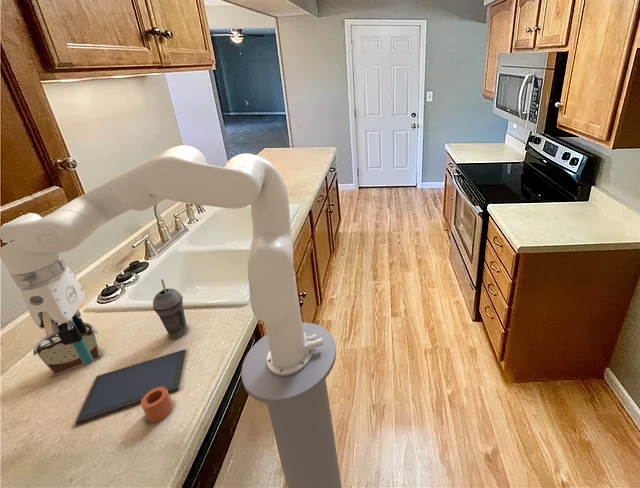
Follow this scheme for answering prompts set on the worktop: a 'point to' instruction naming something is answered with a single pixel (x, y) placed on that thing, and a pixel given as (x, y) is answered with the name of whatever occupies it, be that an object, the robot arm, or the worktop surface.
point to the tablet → (131, 385)
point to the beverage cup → (171, 311)
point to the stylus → (82, 350)
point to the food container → (65, 351)
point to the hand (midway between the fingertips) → (75, 337)
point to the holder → (156, 404)
